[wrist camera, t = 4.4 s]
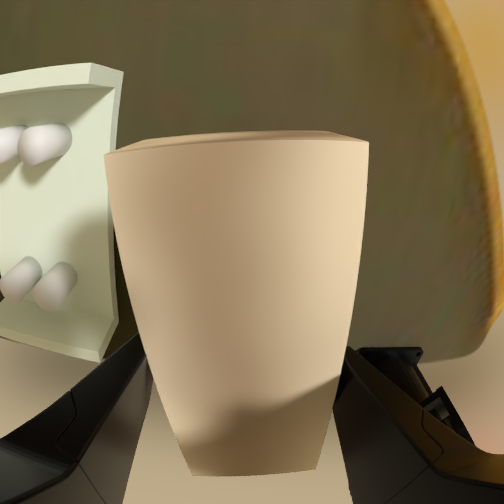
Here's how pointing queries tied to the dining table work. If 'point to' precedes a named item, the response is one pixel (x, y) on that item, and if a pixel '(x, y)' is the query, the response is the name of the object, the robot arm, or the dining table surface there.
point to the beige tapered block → (242, 285)
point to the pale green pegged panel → (58, 208)
